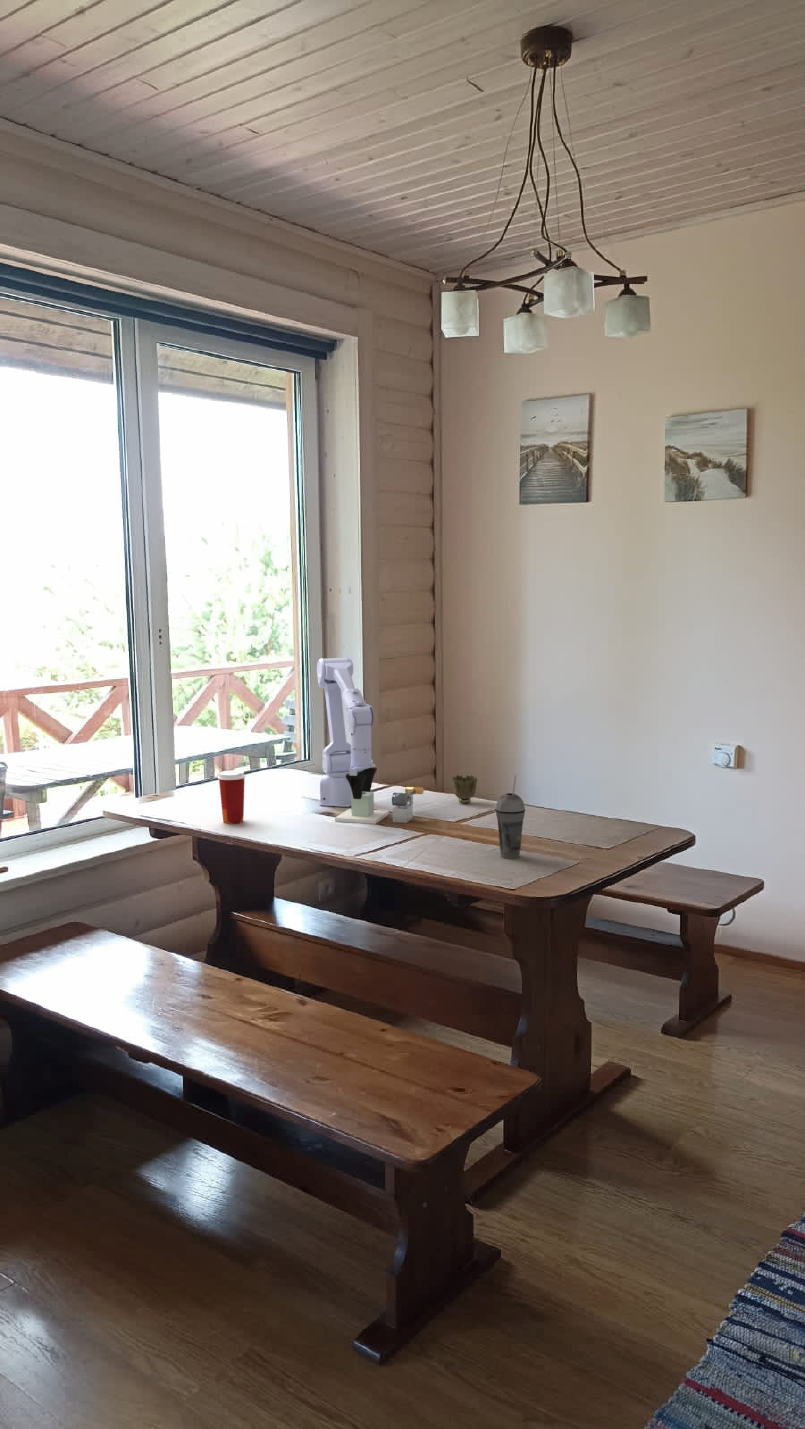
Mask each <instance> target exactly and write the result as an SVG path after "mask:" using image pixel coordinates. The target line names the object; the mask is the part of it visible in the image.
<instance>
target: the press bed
mask: <svg viewBox="0 0 805 1429" xmlns="http://www.w3.org/2000/svg"><path fill="white" fill-rule="evenodd" d="M389 814H390V811H389V810H384V809H383V810H380V809H374V813H373V814H372V815H370V816H369V817H363V816H352V808H351V807H350V808H349V807H348V809H346V810H345V811H343V812H342V813H341V814H339V815H337V816H336V817H334V822H339V823H340V822H341V823H354V824H355V823H356V824H368V825H369V824H370V825H372V824H373V825H376V824H377V823H379V822H381V821H382V820H383V819H384V818H386V817H387V816H388V815H389Z"/></svg>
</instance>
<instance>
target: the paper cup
mask: <svg viewBox="0 0 805 1429" xmlns="http://www.w3.org/2000/svg"><path fill="white" fill-rule="evenodd" d="M244 772H245V771H243V770H234V769H233V770H224V771H221V772H219V774H218V776H217V779H218V781H219V795H220V804H221V812H222V822H223V823H224V824H229V825H233V824H235V825H237V824H240V823H243V822H244V815H245V814H244V811H245V779H246V775H245V773H244Z"/></svg>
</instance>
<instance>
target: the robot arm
mask: <svg viewBox="0 0 805 1429" xmlns="http://www.w3.org/2000/svg"><path fill="white" fill-rule="evenodd" d="M353 674H354V663H353V659H351V657H349V656H348V657H336V658H334V657H333V658H322V657H321V658H319V659H318V661H317V665H316V675H317V683H318V687H319V688H321V689H323V690H324V697H325V702H326V703H325V706H326V714H327V723H328V732H329V741H330V743H329V744H328V745H327V746H325V748H323V750H322V754H321V755H322V761H321V762H322V763H321V765H322V771H323V773H324V774H323V775H322V776H321V778H320V782H319V794H320V795H319V798H320V800H319V801H320V803H319V806H326V807H327V806H328V807H340V808H342V807H343V808H349V807H350V808H351V795H353V798H354V799H361V797H362V792H372V791H371V789H372V785H373V780H374V777H375V774H376V773H377V771H378V769H377V767H376V763H374V760H373V759H372V726H373V725H374V724H375V712H374V709H373V706H372V705H370V704H369V703H366V701H365V699H364V696H363V695H362V693H361V691H360V690H359V689H358V688H355V684H354V682H353ZM343 705H344V707H345V710H346V712H347V716H346V718H347V724H348V731H349V733H350V743H349V742H347V735H346V726H345V717H344V709H343Z"/></svg>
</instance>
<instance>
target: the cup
mask: <svg viewBox="0 0 805 1429" xmlns="http://www.w3.org/2000/svg"><path fill="white" fill-rule="evenodd" d="M477 782H478V777H476V776H473V775H472V774H471V775H468V774H467V775H466V776H465V777H463V775H456V776H455V775H454V776H453V777H452V785H453V786H452V787H453V792H454V795H455V797H457V799H458V803H459V804H460V805H469V804H470V803H471V802H472V800H471V799H472V798H473V797H474V796H475V794H476V791H477Z"/></svg>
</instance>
